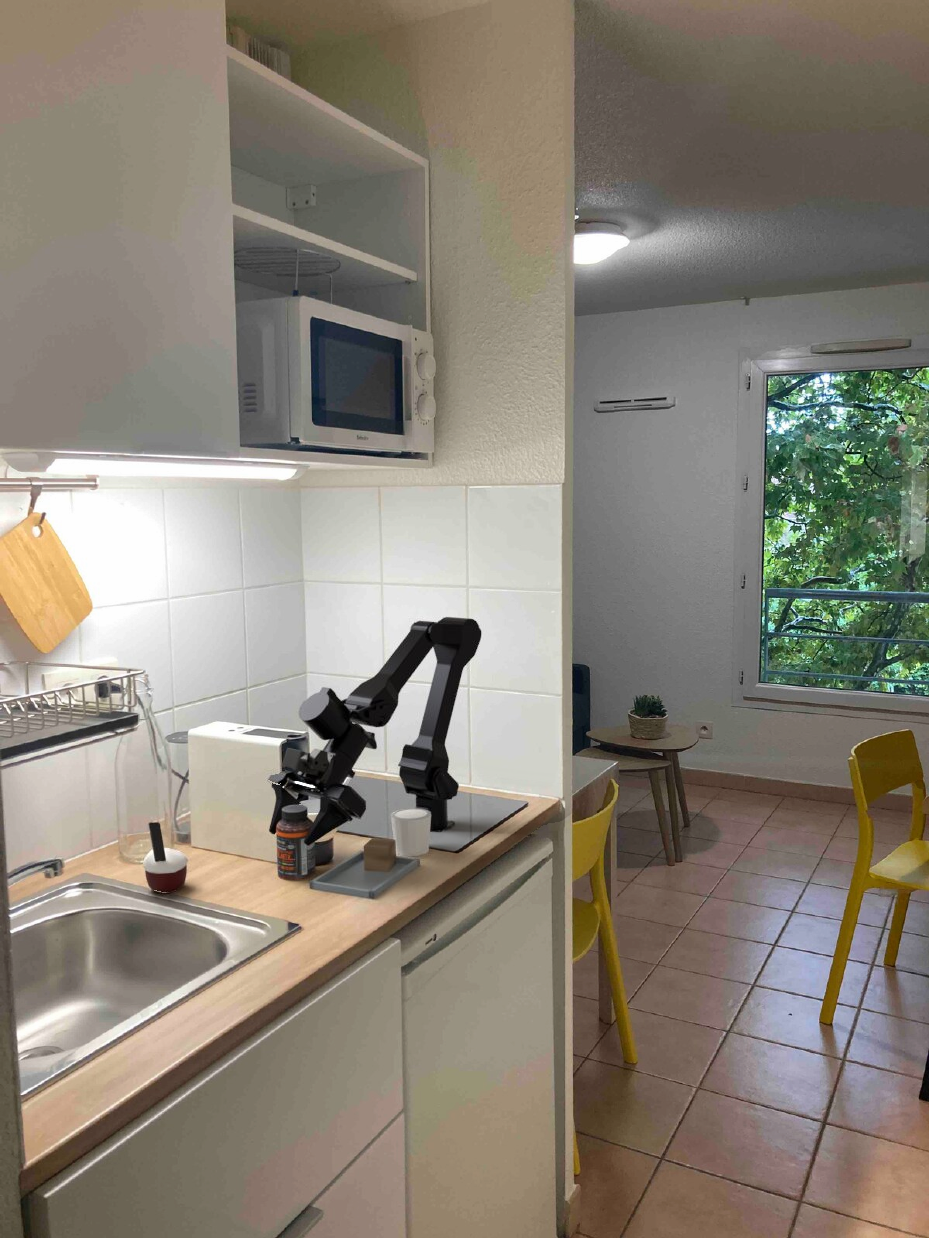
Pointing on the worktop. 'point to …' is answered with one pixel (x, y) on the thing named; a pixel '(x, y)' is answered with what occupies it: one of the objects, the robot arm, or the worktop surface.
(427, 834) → the white cup
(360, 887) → the tray
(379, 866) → the walnut block
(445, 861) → the worktop surface
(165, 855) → the cocoa
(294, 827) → the supplement bottle
